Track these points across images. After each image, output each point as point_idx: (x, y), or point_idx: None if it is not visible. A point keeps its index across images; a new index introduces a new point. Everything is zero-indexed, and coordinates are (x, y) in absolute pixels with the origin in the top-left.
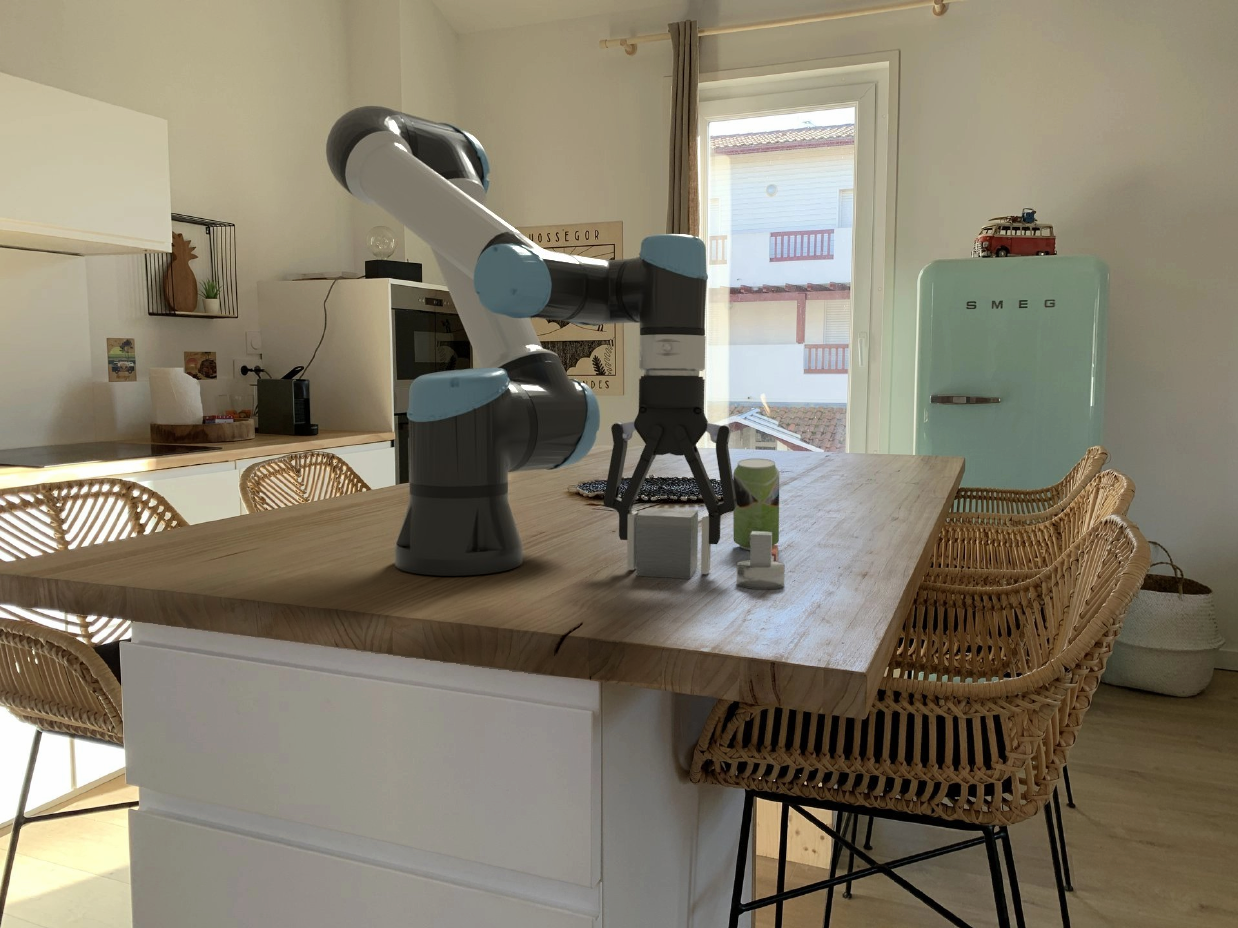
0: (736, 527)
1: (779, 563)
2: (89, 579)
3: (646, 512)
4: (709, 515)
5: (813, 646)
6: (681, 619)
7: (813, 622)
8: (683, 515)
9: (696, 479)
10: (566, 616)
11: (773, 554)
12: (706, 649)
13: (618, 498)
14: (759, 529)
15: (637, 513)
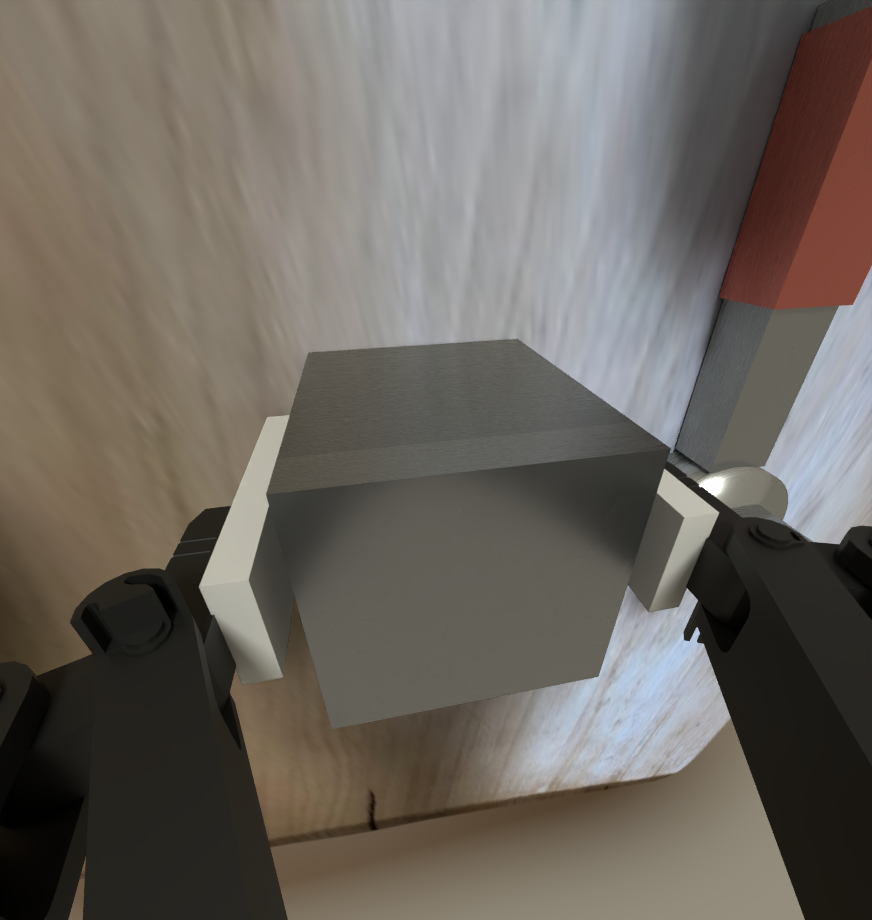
0: None
1: (780, 500)
2: None
3: (347, 654)
4: (688, 636)
5: (660, 743)
6: (508, 735)
7: (694, 679)
8: (563, 652)
9: (807, 885)
10: (334, 785)
11: (841, 304)
12: (543, 789)
13: (76, 757)
14: None
15: (258, 597)
